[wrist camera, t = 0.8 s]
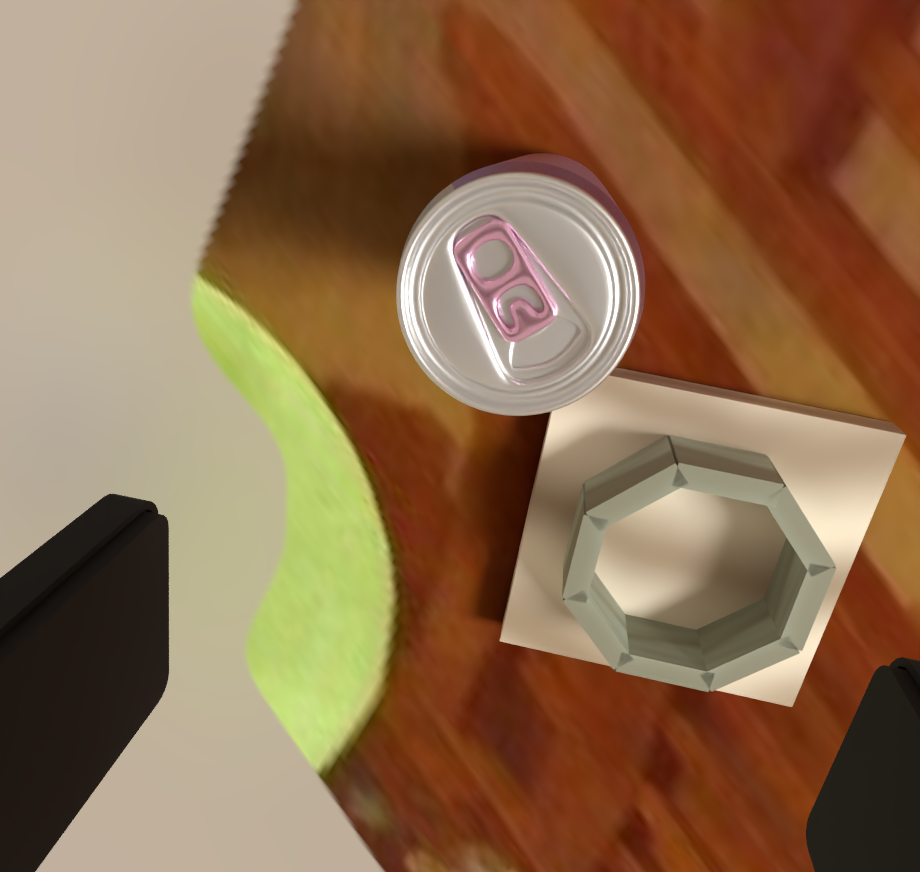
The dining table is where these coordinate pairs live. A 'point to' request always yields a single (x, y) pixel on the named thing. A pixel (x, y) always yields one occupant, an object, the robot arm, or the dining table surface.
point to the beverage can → (521, 286)
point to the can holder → (694, 532)
